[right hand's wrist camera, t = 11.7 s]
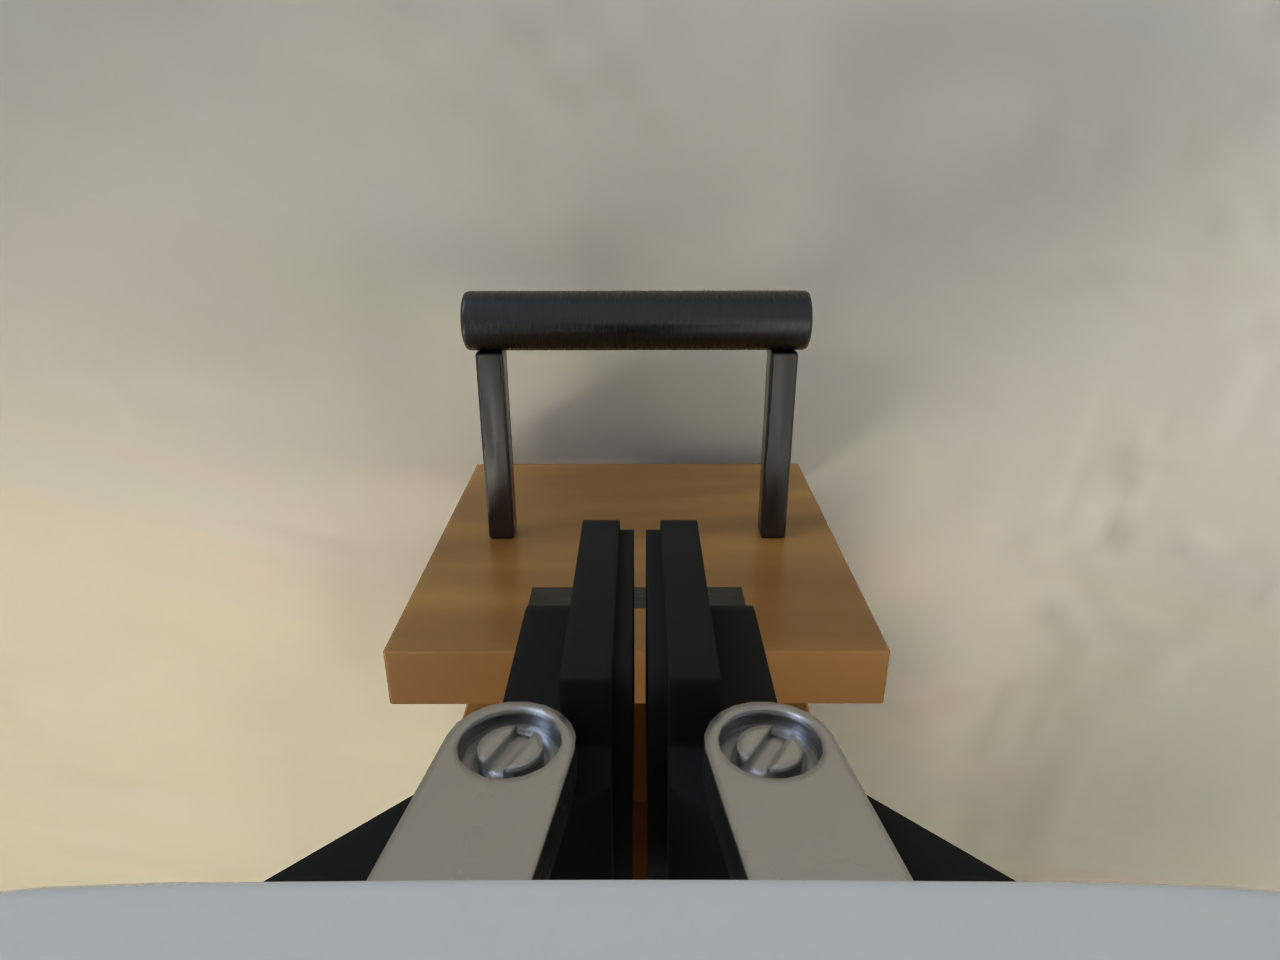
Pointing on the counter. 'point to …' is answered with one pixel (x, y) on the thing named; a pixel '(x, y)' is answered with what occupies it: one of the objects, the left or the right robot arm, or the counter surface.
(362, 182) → the counter surface
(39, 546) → the counter surface
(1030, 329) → the counter surface
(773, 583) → the drawer
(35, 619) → the counter surface
